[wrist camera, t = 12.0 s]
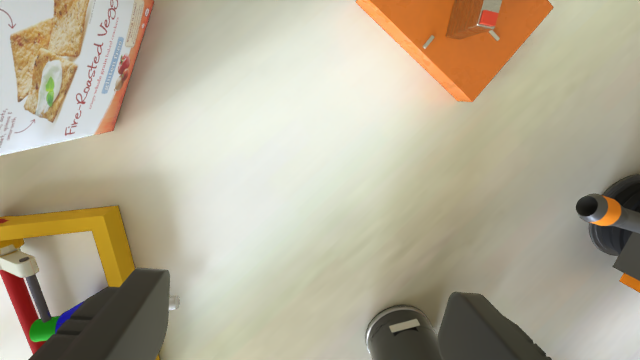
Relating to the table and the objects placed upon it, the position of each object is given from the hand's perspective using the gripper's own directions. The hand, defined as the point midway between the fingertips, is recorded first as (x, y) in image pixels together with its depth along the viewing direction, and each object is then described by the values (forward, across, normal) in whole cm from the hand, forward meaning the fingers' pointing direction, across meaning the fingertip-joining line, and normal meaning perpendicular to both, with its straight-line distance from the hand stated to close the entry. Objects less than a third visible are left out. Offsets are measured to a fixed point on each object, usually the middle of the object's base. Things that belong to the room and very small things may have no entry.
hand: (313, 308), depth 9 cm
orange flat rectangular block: (+28, -14, -17) cm, 36 cm away
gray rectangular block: (+25, -15, -17) cm, 34 cm away
